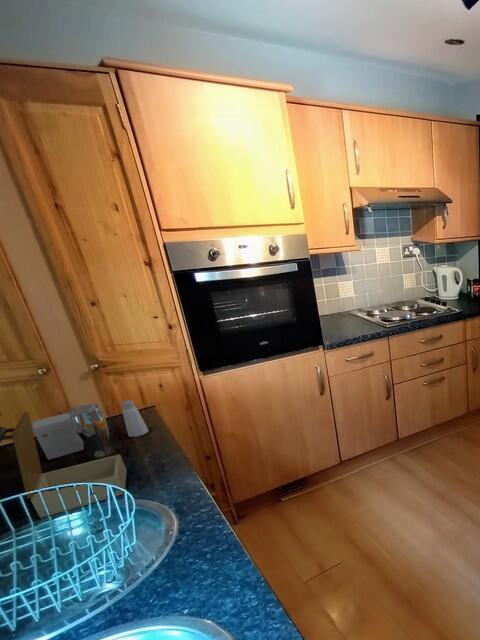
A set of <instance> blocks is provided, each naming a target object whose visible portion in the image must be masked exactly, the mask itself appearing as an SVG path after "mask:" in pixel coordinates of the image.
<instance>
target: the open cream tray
mask: <svg viewBox="0 0 480 640" xmlns="http://www.w3.org/2000/svg"><path fill="white" fill-rule="evenodd" d="M126 481H127V468H126V465H125V463H124V460H123V458H122V455H121V453H118V454H114V455H113V456H111V457H107V458H103V459H99V460H95V461H92V460H90V461H88V462H83V463H80V464H76V465H75V464H74V465H71V466H67V467H64V468H59V469H55V470H52V471H46V472H43V473H41V476H40V478H39V481H38V484H37V486H36V489H35V490H38V489H41V488H45V487H49V486H55V485H61V484H67V483H81V482H90V483H107V484H112V485H115V486H119V487H122V488H124V489H125V490H126V483H127V482H126ZM76 490H77V491H78V494H79V496H80V498H81V504H80V503H79V500H78V497H77V493H76ZM92 490H93V493H92V495H91V504H94V503H97V502H96V499H95V498H94V495H96V496H97V497H98V500H99V501H98V502H102V501H104V500H108V499H109V498H108V496H107V488H106V487H103V486H93V487H92ZM58 492H59V494H60V495H61V497H62V499H63V502H64V504H65V505H66V511H69V510H74V509H76V508H81V507H83V506H88V505H89V504H88V486H86V485H80V486H77V487H76V486H75V487H65V488H61V489H60V491H57V490H51V491H44V492H42V497H43V500H44V502H45V505H46V507H47V509H48V511H49V515H48V514H47V513H45V509H44V506H43V504H42V501H41V498H40V496H39V493H36V494H33V497H32V498H30V502H31V504H32V505H33V507H34V510H35V511H36V513H37V515H38V517H39V518H40V519H43V518H45V517H50V516H53V515H56V514H60V513H63V512H66V511H65V510H64V508H63V507H62V504H61V501H60V498H59V495H58ZM121 495H124V493H123V492H122V491H119V490H116V491H115V497H119V496H121Z"/></svg>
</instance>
